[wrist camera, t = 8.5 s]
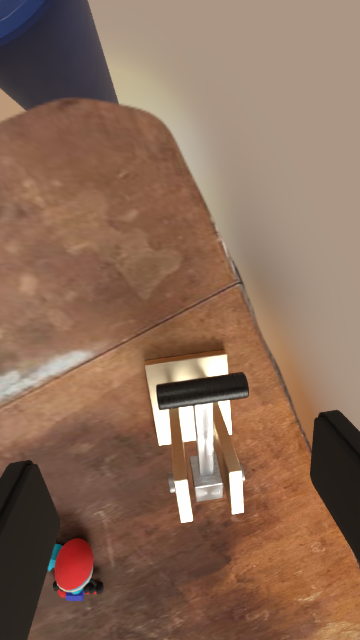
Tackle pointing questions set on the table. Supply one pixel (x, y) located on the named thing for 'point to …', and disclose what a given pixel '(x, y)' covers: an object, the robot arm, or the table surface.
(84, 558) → the toy figure
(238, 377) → the lever
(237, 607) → the table surface
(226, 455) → the bracket
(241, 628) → the table surface
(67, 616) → the table surface
